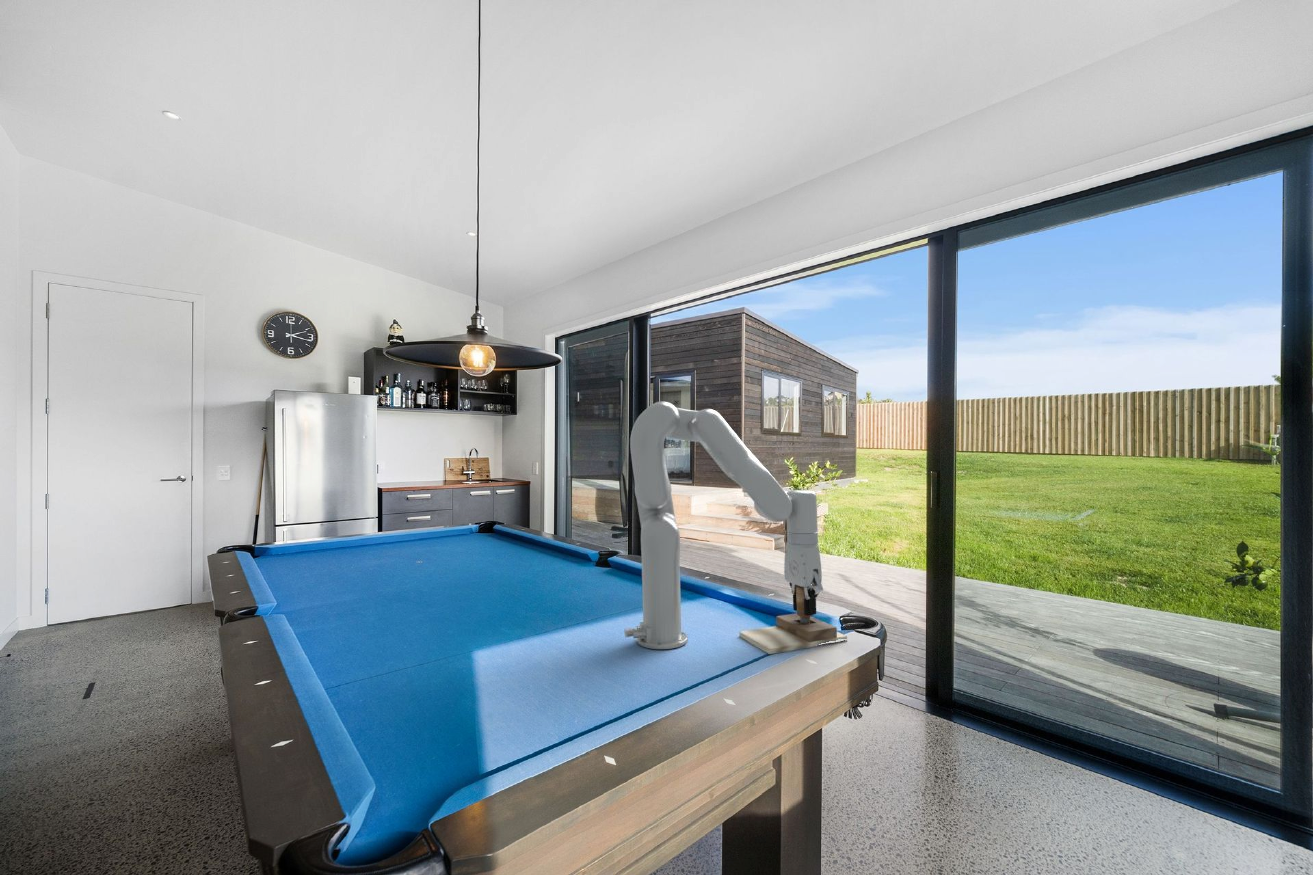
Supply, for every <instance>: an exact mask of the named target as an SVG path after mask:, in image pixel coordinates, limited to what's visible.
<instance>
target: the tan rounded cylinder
mask: <svg viewBox="0 0 1313 875" xmlns="http://www.w3.org/2000/svg"><path fill="white" fill-rule="evenodd" d="M811 590H812V588H810V589H809V592H810V591H811ZM804 599H806V597H805V590H804V587H801V586H798V585H797V586H796V603H797V611H796V613H797V615H798V616H800V623H801V624H803V625H805V624H810V617H813V616H814V615H805V614H804Z"/></svg>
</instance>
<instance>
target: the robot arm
mask: <svg viewBox="0 0 1313 875" xmlns="http://www.w3.org/2000/svg"><path fill="white" fill-rule="evenodd" d="M666 438H668V439H675V440H680V441H686V442H694V443H695V442H697V443H700V444H701V446H702V447H703V448H704V449H705V450H706V452H707V453H708V454H709V456H710V457H711V458H712V459H713V461H714V462H715V463H716V465H717V466H718V467H719V468H720V469H721V471H722V472H724V473H725V475H726V476H727V477H728V478H730V480H732V481H733V482H734V483H736V484H737V485H738V486H740V487H741V489H742V490H743V491H744V492H745V493H746V494H747V495H748V496H749V497H750V499H751V500H752V501H753V506H754V509H755V511H756V513H757V514H758V515H759V516H760V517H762V518H764V519H765V520H768V521H771V522H773V523H782V522H784V521H786V540H787V542H786V545H785V551H784V566H783V568H784V569H783V570H784V571H783V572H784V573H783V574H784V575H783V576H784V580H785V581H786V582H788V584H789V586H790V588H791V590H790V592H791V595H792V610H793V611H795V612H797V603H796V586H797V585H798V586H801V587H804V590H805V597H806V599H804V614H805V615H813V616H814V615H816V614H817V599H818V595H819V594H820V593H822V592H823V590H824V588H823V585H822V578H823V575H822V562H821V554H820V548H819V534H818V533H819V532H818V530H819V529H818V527H819V526H818V502H817V494H816V492H815V491H813V490H809V489H796V490H795V489H794V490H789V491H787V490H785V489H784V488H783V486H781V485H780V483H779V482H778V481H777V480H776V478H775V477H774V476H773V475H772V473H770V471H768V469H767V468H766V467H765V466H764V465H763V464H762V463H761V462H760V461H759V459H758V458H757V457H756V456H755V455H754V454H753V452H752V451H751V450H750V449H749V448H748V446H746V444H745V443H744V442H743V441H742V440H741V439H740V437H739V436H738V434H737V433H736V432H735V431H734V429H732V427H731V426H730V425H729V424H728V422H727V421H726V420H725V418H723V416H722V415H721V414H720V412H718V411H716V410H714V409H712V408H704V409H701V410H694V409H692V410H691V409H685V408H681V407H676V406H675V405H674V404H673V403H671V402H669V401H664V400H662V401H656V402H655V403H653V404H651V405H649V406H648V407H647V408H646V409H644V410H643V411H642V413H640V414H639V415H638V417H637V418H636V420H635V422H634V424H633V426H632V430H631V434H630V438H629V446H630V454H631V455H630V457H631V464H632V473H633V479H634V494H635V498H636V504H637V509H638V510H637V511H638V517H639V522H640V528H641V529H640V551H641V552H640V553H641V580H642V582H641V583H642V622H639V625H637V626H636V628H635V627H633V628H632V627H631V628H625V629H624V636H625V638H629V637H632V638H633V639H637V641H636V642H637V643H638V645H639V646H641V647H643V648H646V649H650V650H671V649H675V648H680V647H682V646H684V645H686V644H687V642H688V640H689V639H688V638H689V637H688V634H686V633H685V632H683V631H682V615H681V614H682V609H681V608H682V605H681V604H682V603H681V598H682V597H681V576H680V575H681V569H680V568H681V567H680V566H681V565H680V557H681V556H680V548H681V547H680V546H681V544H680V543H681V536H680V529H679V526H678V524H677V520H676V516H675V515H676V514H675V510H674V502H673V497H672V495H673V494H672V486H671V485H672V484H671V481H670V479H669V473H668V468H667V463H666V462H667V461H666V454H665V447H664V446H665V439H666ZM810 588H812V590H811V591H810V592H809V589H810Z"/></svg>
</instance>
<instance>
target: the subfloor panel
mask: <svg viewBox="0 0 1313 875" xmlns="http://www.w3.org/2000/svg"><path fill="white" fill-rule="evenodd" d="M775 622H776V623H775V624H776V625H774V626H767V627H760V628H754V629H746V630H740V631H739V635H738V636H739V637H740V638H742V639H743V640H745V641H747V642H748V643H750V644H751V645H753V646H755V647H757V648H758V649H760V650H761V651H763V652H765V653H767V654H768V655H772V654H773V655H774V654H779V653H784V652H785V653H786V652H791V651H796V650H802V649H807V648H809V649H810V648H815V647H817V646H816V645H819V644H821V643H826V642H829V641H836V640H838V639H847V640H848V636H847V635H845V634H844V633H841V632H839V631H838V628H837V626H835V625H832V624H829V623H828V622H825V621H823V620H820V619H818V618H815V617H813V616H811V617H810V624H805V625H803V624H801V623H800V616H798V615H797V612H796V613H791V614H782V615H776V620H775ZM814 646H815V647H814Z"/></svg>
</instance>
